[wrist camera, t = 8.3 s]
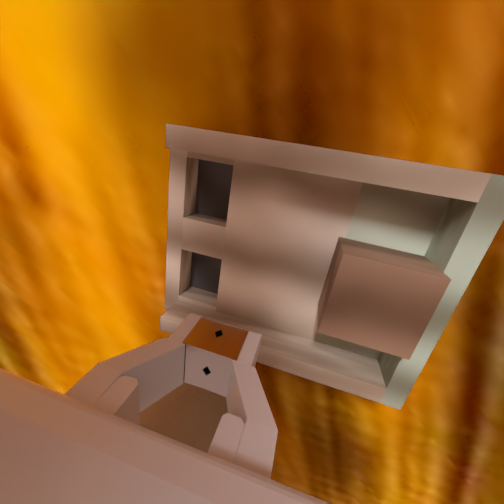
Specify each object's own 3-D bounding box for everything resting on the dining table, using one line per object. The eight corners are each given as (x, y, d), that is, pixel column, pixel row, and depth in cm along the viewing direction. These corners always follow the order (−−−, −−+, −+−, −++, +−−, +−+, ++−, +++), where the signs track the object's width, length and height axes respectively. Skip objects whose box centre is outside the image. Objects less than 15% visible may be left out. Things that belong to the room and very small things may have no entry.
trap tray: (186, 131, 22) (146, 120, 17) (466, 175, 18) (525, 179, 12) (177, 296, 28) (145, 325, 23) (383, 358, 24) (400, 409, 19)
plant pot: (265, 442, 32) (219, 678, 17) (164, 394, 34) (45, 567, 19) (305, 358, 26) (287, 604, 11) (180, 307, 28) (29, 457, 14)
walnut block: (338, 236, 19) (343, 253, 15) (424, 256, 18) (451, 279, 14) (318, 303, 21) (317, 332, 17) (392, 324, 20) (409, 359, 16)
